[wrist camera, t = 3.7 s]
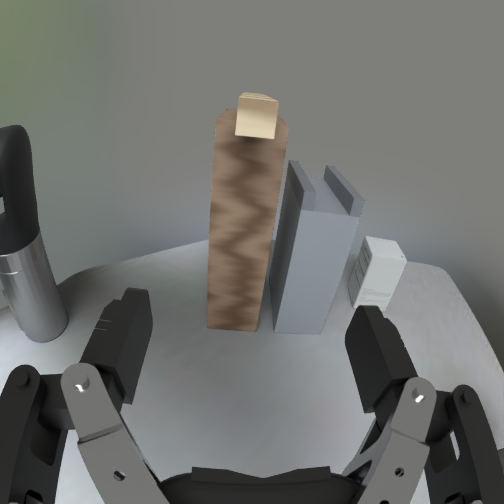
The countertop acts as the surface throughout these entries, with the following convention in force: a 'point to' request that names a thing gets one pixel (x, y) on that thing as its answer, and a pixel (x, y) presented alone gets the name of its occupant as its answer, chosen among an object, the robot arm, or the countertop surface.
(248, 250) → the walnut pedestal
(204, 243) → the countertop surface
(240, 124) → the birch bar
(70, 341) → the countertop surface
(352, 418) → the countertop surface
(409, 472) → the robot arm
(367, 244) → the supplement box
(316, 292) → the slate grooved rack
